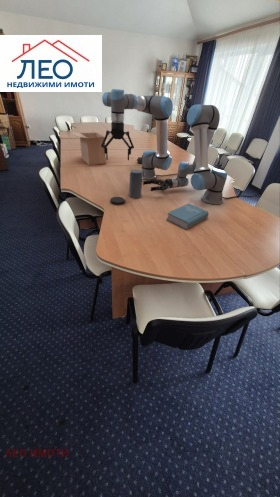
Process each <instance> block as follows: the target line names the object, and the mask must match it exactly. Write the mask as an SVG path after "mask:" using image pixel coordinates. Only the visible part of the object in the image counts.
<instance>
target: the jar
mask: <svg viewBox="0 0 280 497" xmlns="http://www.w3.org/2000/svg"><path fill="white" fill-rule="evenodd" d="M142 175H143V174H142V171H141V169H139V168H138V169H136V168H134V169H130V171H129V184H128V197H129V198H132V199H140V198H141V197H142V188H143V179H142Z"/></svg>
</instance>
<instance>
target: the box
mask: <svg viewBox="0 0 280 497" xmlns="http://www.w3.org/2000/svg"><path fill="white" fill-rule="evenodd" d="M70 133H71V134H72V135H74V136H75V137H77V138H79V144H80V153H81V160H83V162H85V163H86V165H87V166H95V165H97V166H98V165H106V163H107V162H106V161H107V160H106V154H105V153H104V148H103V147H101V145H102V142H103V140H104V138H105V135H106V131H98V132H96V131H95V130H92V129H91V130H77V132H76V131H70ZM111 137H112V135H111V134H109V135H108V137H107V138H111ZM104 145H106V142H105V143H104Z"/></svg>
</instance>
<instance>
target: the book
mask: <svg viewBox="0 0 280 497" xmlns="http://www.w3.org/2000/svg"><path fill="white" fill-rule="evenodd" d="M208 217H209V211H208V210H206V209H203V208H201V207H199V206H196V205H194V204H192V203H186V204H184V205H182V206H179V207H178V208H175V209H173V210H171V211H168V212H167V218H166V221H169V222H170V223H172V224H174V225H176V226H179V227H180V228H182V229H184V230H188V229H190V228H191V227H193V226H195V225H196V224H198V223H200V222H202V221H205V220H206V219H208Z"/></svg>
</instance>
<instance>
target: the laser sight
mask: <svg viewBox="0 0 280 497" xmlns="http://www.w3.org/2000/svg"><path fill="white" fill-rule="evenodd" d="M142 156H143V154H141V156H140V157H139V156H138V157H137V159H136V161H137V164H140V165H142V158H143V157H142Z"/></svg>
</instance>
